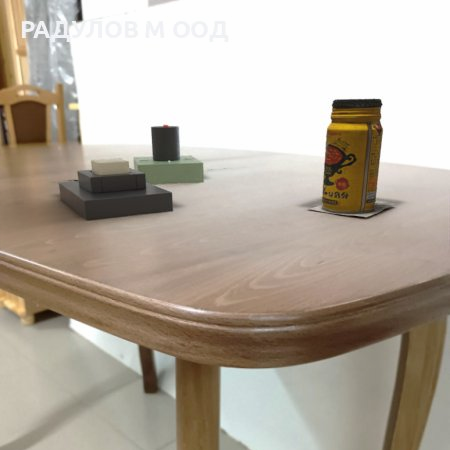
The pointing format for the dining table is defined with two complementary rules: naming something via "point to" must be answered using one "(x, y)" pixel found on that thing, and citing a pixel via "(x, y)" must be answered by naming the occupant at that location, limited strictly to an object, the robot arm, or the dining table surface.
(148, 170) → the panel
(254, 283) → the dining table surface
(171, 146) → the volume knob
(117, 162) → the white key
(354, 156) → the condiment
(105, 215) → the tiered dark pedestal
